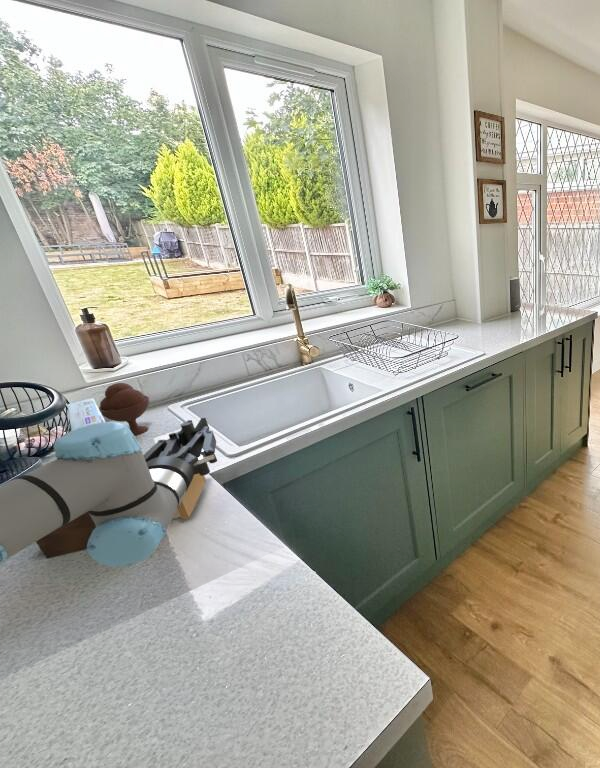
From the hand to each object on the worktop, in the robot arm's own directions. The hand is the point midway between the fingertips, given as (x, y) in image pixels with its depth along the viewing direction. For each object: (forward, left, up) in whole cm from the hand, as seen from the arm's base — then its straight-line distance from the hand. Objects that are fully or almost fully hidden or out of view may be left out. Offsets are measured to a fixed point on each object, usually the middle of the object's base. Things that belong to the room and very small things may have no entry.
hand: (198, 424), depth 89 cm
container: (+1, -11, -15) cm, 18 cm away
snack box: (-33, -16, -16) cm, 40 cm away
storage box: (-3, -18, -16) cm, 24 cm away
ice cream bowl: (-50, -7, -16) cm, 53 cm away
